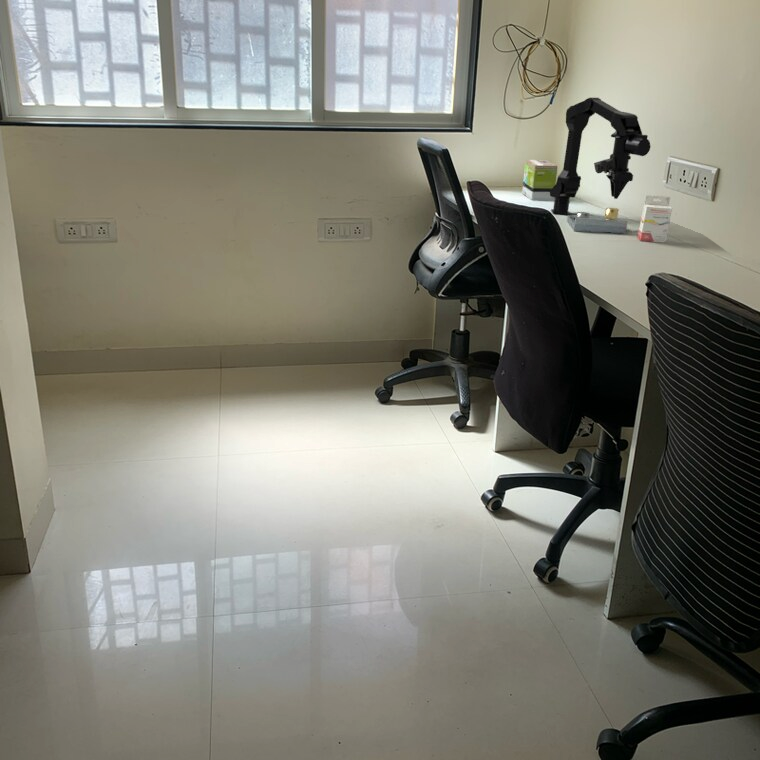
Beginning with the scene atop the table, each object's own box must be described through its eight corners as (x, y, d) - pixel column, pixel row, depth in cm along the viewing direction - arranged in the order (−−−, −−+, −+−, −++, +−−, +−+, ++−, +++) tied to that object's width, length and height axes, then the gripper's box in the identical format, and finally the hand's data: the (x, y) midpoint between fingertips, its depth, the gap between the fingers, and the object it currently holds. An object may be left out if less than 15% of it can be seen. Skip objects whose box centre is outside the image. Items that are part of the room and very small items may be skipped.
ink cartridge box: (640, 241, 264) (648, 197, 258) (637, 237, 268) (644, 194, 263) (666, 242, 263) (674, 198, 257) (662, 239, 268) (670, 196, 262)
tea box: (521, 194, 339) (524, 159, 333) (543, 194, 340) (547, 159, 335) (530, 200, 326) (535, 164, 320) (554, 201, 327) (558, 164, 321)
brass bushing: (614, 227, 283) (617, 207, 280) (616, 230, 279) (619, 210, 276) (601, 226, 283) (604, 207, 280) (604, 229, 279) (607, 209, 276)
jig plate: (566, 221, 289) (568, 209, 287) (615, 224, 288) (617, 211, 286) (574, 231, 274) (575, 218, 272) (625, 233, 273) (627, 221, 272)
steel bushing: (574, 225, 283) (576, 211, 281) (586, 225, 283) (588, 212, 281) (576, 227, 279) (578, 214, 277) (588, 228, 279) (590, 214, 277)
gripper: (592, 147, 279) (586, 191, 285) (603, 154, 262) (596, 201, 268) (624, 149, 279) (617, 193, 285) (636, 156, 262) (629, 202, 268)
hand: (614, 197), depth 277 cm, fingers open, 4 cm apart
